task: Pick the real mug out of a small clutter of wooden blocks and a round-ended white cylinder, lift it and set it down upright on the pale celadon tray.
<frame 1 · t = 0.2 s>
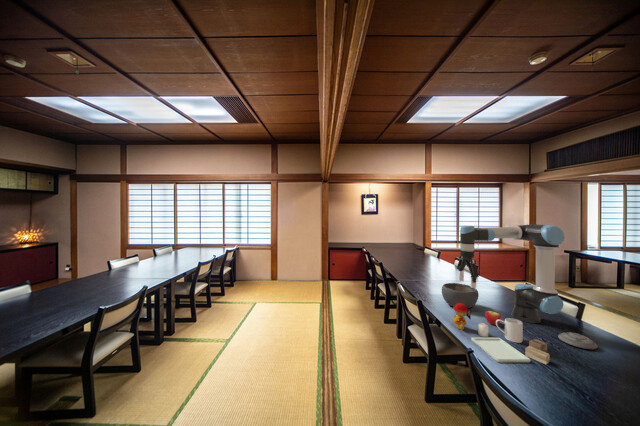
hand: (467, 284, 150), 27 cm above the table, fingers open, 13 cm apart
bowl: (459, 306, 185), on the table
maple block: (537, 359, 119), on the table
mug: (508, 338, 138), on the table
round-ended white cylinder: (483, 334, 142), on the table
tray: (498, 350, 126), on the table
toy: (460, 327, 151), on the table
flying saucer: (577, 344, 133), on the table
walnut cube: (538, 351, 125), on the table
apple: (493, 324, 156), on the table
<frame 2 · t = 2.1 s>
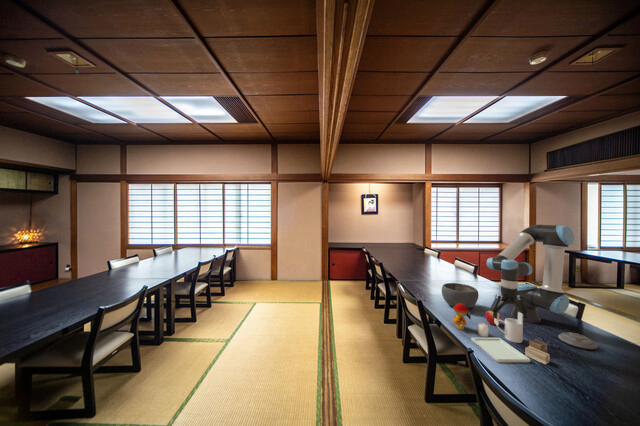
hand: (508, 324, 138), 8 cm above the table, fingers open, 13 cm apart
nothing on the table moved.
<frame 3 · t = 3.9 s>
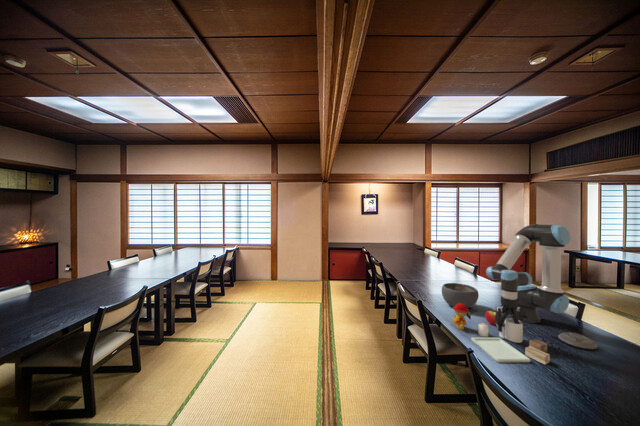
hand: (508, 337, 138), 1 cm above the table, fingers closed on mug, 7 cm apart
mug: (508, 338, 138), on the table, touching gripper, hand
everything else where it was.
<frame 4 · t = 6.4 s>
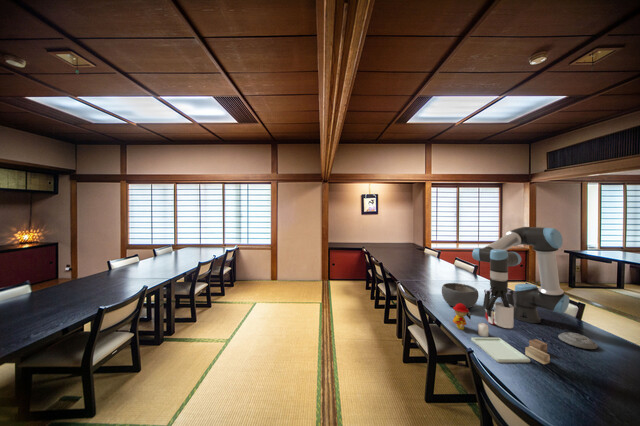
hand: (498, 322, 126), 15 cm above the table, fingers closed on mug, 7 cm apart
mug: (498, 324, 126), point 14 cm above the table, touching gripper, hand
everything else where it was.
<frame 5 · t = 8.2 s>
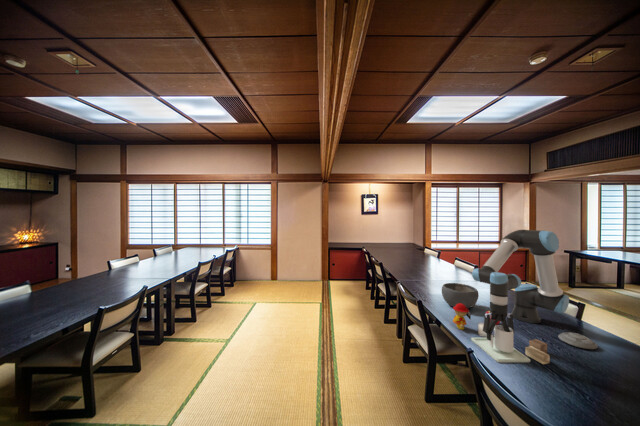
hand: (498, 346, 126), 2 cm above the table, fingers closed on mug, 7 cm apart
mug: (498, 347, 126), point 1 cm above the table, touching gripper, hand
everything else where it was.
when the fingers open (2 cm above the table, at t = 9.0 s): mug stays where it is, resting on tray.
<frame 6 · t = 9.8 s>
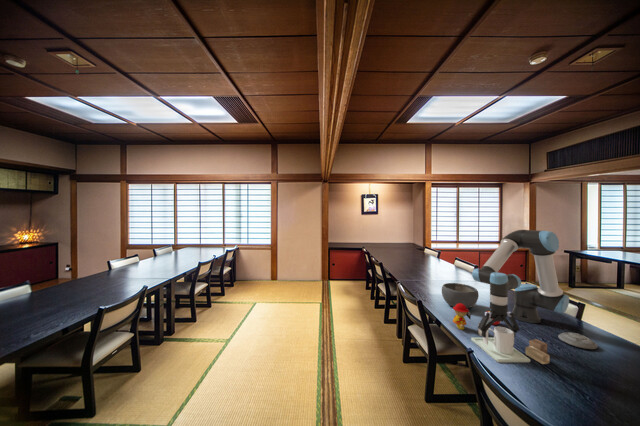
hand: (498, 343, 126), 4 cm above the table, fingers open, 13 cm apart
mug: (498, 349, 126), resting on tray
everything else where it was.
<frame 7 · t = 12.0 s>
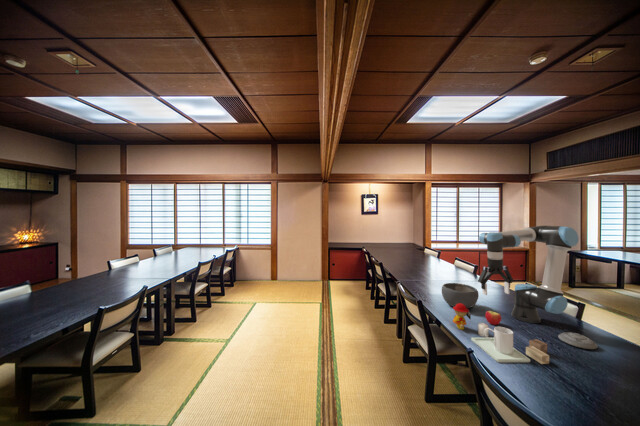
hand: (495, 294, 143), 24 cm above the table, fingers open, 13 cm apart
nothing on the table moved.
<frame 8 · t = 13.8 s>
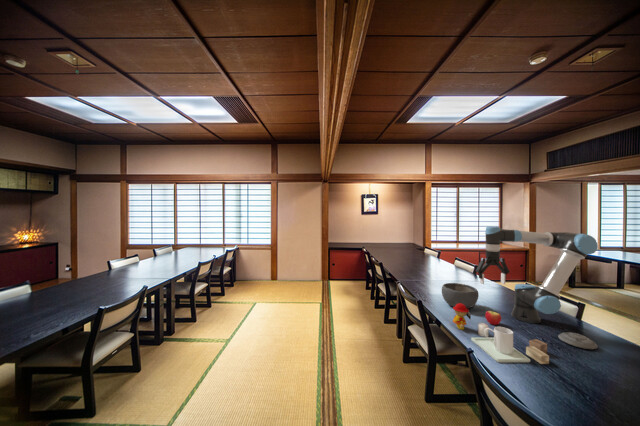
hand: (492, 283, 154), 27 cm above the table, fingers open, 13 cm apart
at the end: mug inside the target area on the tray (0.2 cm from its centre), point 0.4 cm above the tray's base; mug tilted 0°; the gripper is holding nothing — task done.
